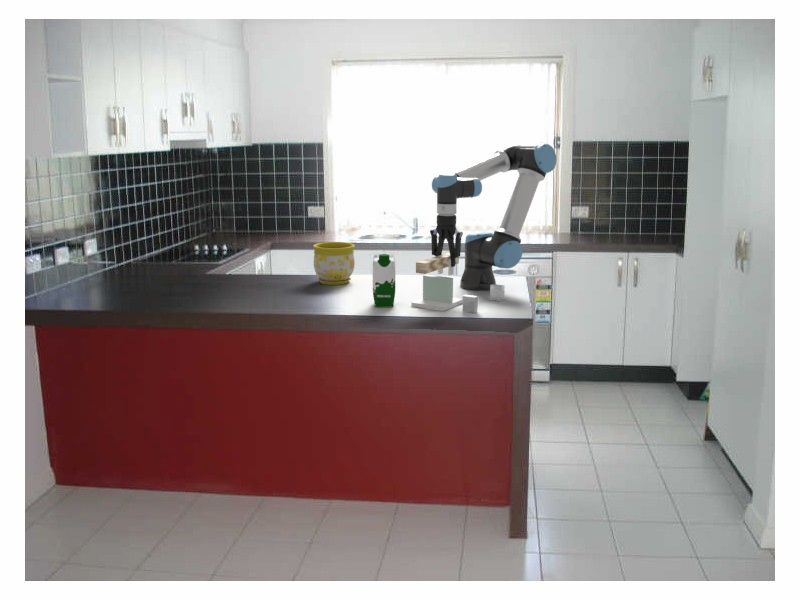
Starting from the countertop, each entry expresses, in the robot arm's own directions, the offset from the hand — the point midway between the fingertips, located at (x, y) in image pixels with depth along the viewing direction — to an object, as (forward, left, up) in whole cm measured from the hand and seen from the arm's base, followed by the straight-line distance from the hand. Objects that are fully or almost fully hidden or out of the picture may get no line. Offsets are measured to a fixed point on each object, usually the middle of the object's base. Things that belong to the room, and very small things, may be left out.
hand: (445, 274), depth 323 cm
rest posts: (-2, +16, -11) cm, 20 cm away
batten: (+6, 0, +3) cm, 7 cm away
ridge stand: (+6, 0, -11) cm, 13 cm away
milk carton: (+18, -17, -11) cm, 27 cm away
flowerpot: (-6, -59, -11) cm, 60 cm away
